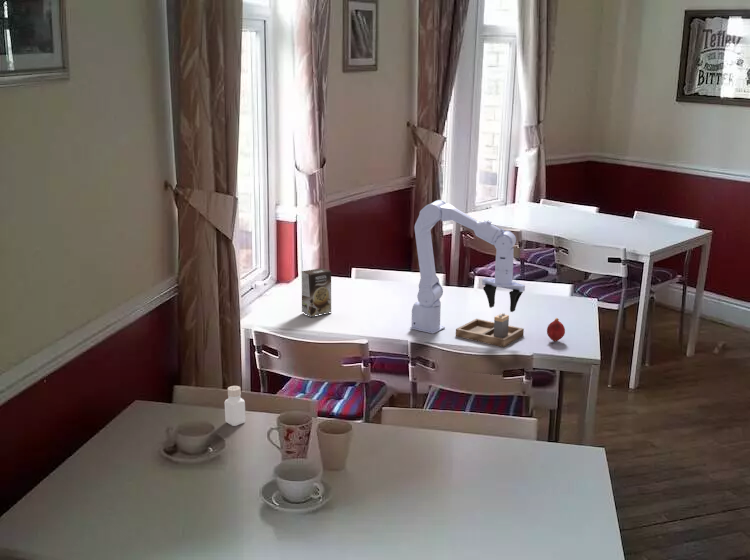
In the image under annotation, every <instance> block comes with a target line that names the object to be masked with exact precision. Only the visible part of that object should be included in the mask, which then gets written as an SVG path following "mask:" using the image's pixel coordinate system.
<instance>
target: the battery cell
mask: <svg viewBox="0 0 750 560" xmlns="http://www.w3.org/2000/svg"><path fill="white" fill-rule="evenodd" d="M493 318H494V319H493V322H494V337H499V338H504V337H506V336H508V325H509V323H510V321H509V320H510V315H509V314H506V313H505V312H504V313H503V312H502V313H499V314H498V315H495V316H494V317H493ZM509 326H510V325H509Z"/></svg>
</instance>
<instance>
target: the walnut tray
mask: <svg viewBox="0 0 750 560" xmlns="http://www.w3.org/2000/svg"><path fill="white" fill-rule="evenodd" d="M524 329H525V328H523V327H518V326H513V325H508V336H506V337H504V338H499V337H494V321H488V320H485V319H480V318H475V319H473V320H471V321H469V322H467V323H465V324H463V325H462V326H458V327H457V328H456V329H455V337H458V338H461V339H467V340H471V341H475V342H479V343H484V344H487V345H488V344H489V345H492V346H497V347H500V348H501V347H502V348H505V347H508V346H509V345H511V344H512V343H514V342H516V341H517V340H519V339H520V338H522V337H524V332H525V331H524Z"/></svg>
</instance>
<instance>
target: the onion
mask: <svg viewBox="0 0 750 560" xmlns="http://www.w3.org/2000/svg"><path fill="white" fill-rule="evenodd" d="M546 334H547V336H548V338H549V339H550V340H551V341H553V342H555V343H556V342H558V341H559V340H561V339H562V338H563V337H564V336H565V334H566V329H565V326H564V324H563V323H562V322H561V321H560V319H559V318H557V317H556V318H554V320H553V321H552V322H550V323H549V324H548V325H547V328H546Z"/></svg>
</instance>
